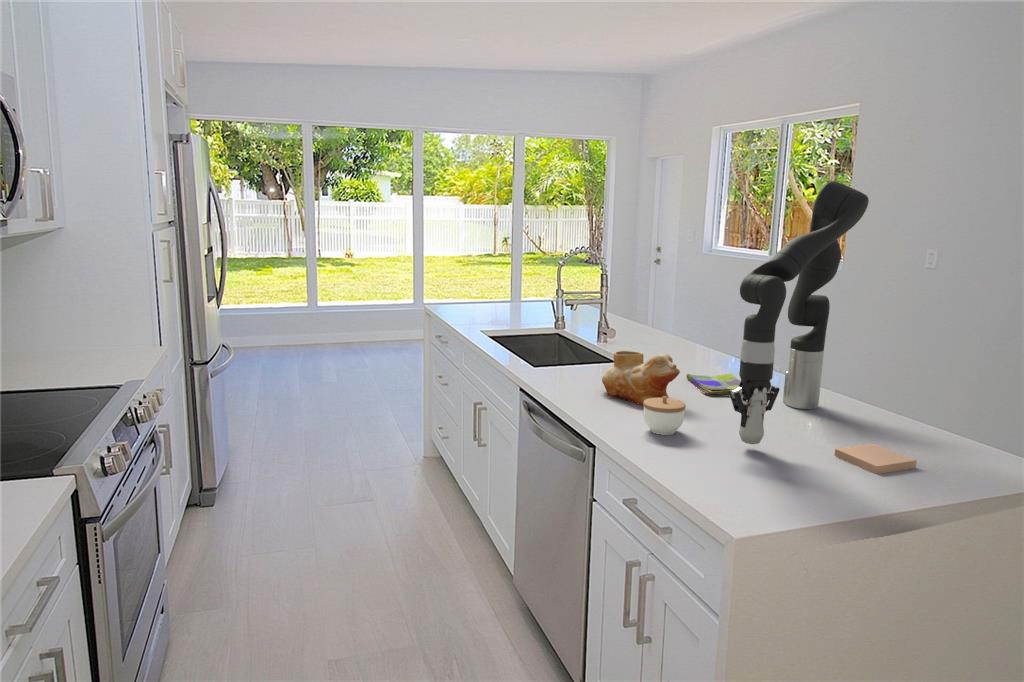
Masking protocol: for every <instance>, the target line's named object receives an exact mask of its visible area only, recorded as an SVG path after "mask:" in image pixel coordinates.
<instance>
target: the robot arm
mask: <svg viewBox="0 0 1024 682" xmlns="http://www.w3.org/2000/svg"><path fill="white" fill-rule="evenodd" d="M813 204H814V205H813V207H812V208H813V209H812V214H811V215H812V216H811V223H810V227H809V228H810V231H809V232H806V233H803V234H801V235H797V236H796V237H794V238H792V239H790V240H789V241H787V242H786V244H784V245H783V246H782V247H781V248H780V249H779V250H778V251H777V252H776V253H775V255H773V256H772V258H770V259H769V260H768V261H766V262H764V263H762V264H761V265H759V266H758V267H756V268H754V269H753V270H752V271H750V272H749V273H748V274H746V276H745V277H744V278H743V279H742V281H741V284H740V286H739V296H740V297H741V299H742V300H743V301H744V302H746V303H748V304H753V305H758V306H759V309H758V311H757V313H756V314H754V313H753V314H749V315H747V316H746V317H745V320H744V324H743V339H742V342H741V344H742V345H741V350H740V361H739V362H740V363H739V374H738V375H739V378H740V381H741V382H740V384H739V388H737V389H735V390H730V391H729V394H730V396H729V397H730V400H731V404H732V407H733V410H734V412H735V413H736V412H738V413H739V414H741V416H740V417H741V418H740V425H741V427H744V428H745V426H746V422H747V417H748V419H749V415H750V414H751V410H752V407H753V406H754V404H755V400H754V396H755V395H757V394H758V391H759V390H760V391H762V393H764V399H763V400H761V408H762V419H763V421H764V419H765V418H764V417H765V414H766V413H767V412H768V411H771V410H772V409H773V407H774V404H775V402H776V400H777V397H778V394H779V392H780V387H777V386H774V385H772V384H771V380H772V379H773V374H774V364H775V363H774V362H775V352H776V351H775V340H776V339H775V338H776V326H777V325H776V324H777V323H778V319H779V317H780V316H781V315H780V314H781V311H782V309H783V306H784V304H785V300H786V297H787V286H786V284H785V283H786V282H787V283H789V282H790V281H792V280H794V279H795V278H797V277H798V278H797V281H796V284H795V287H794V289H793V293H792V295H791V298H790V300H789V303H788V308H787V318H788V319H787V320H788V322H789V323H790V324H791V325H793V326H799V327H812V329H811V330H810V331H808V332H807V333H805V334H802V335H798V336H794V337H792V339H791V340H790V346H789V347H790V348H789V358H788V369H787V371H785V374H784V385H783V397H782V403H784V404H785V405H786V406H788V407H791V408H796V409H801V410H815V409H818V408H819V403H820V402H819V401H820V392H821V384H822V373H823V363H824V354H825V344H826V337H827V335H826V334H827V329H828V328H827V327H828V322H829V316H830V307H831V306H830V305H831V303H830V300H829V298H828V297H827V296H826V295H822V294H821V295H820V294H814V293H815V292H817V291H818V290H820V289H821V288H822V287H824V286H826V285H827V284H828V283H830V282H831V281H832V280H833V279H834V277H836V274H837V273H838V270H839V266H840V263H841V259H842V250H841V245H840V243H839V240H838V239H840V238H841V237H842V236H843V235H845V234H846V233H847V232H849V230H851V229H852V228H854V226H856V224H857V223H858V222H859V221H860V220H861V219H862V217H864V214H865V212H866V211H867V208H868V206H869V197H868V195H867V194H865V193H863V192H862V191H859V190H857V189H855V188H853V187H851V186H848V185H846V184H843V183H842V182H838V181H835V180H831V181H828V182H826V183H824V185H823V186H821V188H819V191H818V193H817V195H816V198H815V200H814V203H813ZM741 393H742V395H741ZM747 400H749V402H748V401H747ZM746 405H747V409H745V408H746ZM743 424H744V425H743Z"/></svg>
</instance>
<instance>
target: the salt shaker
mask: <svg viewBox="0 0 1024 682" xmlns="http://www.w3.org/2000/svg"><path fill="white" fill-rule="evenodd" d="M763 399H764V393H762V391H760V390H759V391H758V394H757V395H755V396H754V400H755V404H754V406H753V407H752V410H751V414H750V415H749V419H748V417H747V422H746V426H745V428H744V427H741V424H740V425H739V429H738V434H739V436H740V439H741V442H743V443H745V444H750V445H758V444H761V442H762V440H763V437H764V434H765V429H764V420H763V419H762V408H761V400H763ZM747 401H748V402H749V400H747ZM745 409H747V405H746V408H745ZM743 425H744V424H743Z"/></svg>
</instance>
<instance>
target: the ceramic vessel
mask: <svg viewBox="0 0 1024 682" xmlns="http://www.w3.org/2000/svg"><path fill="white" fill-rule="evenodd" d="M680 373H681V371H680V369H679V368H678V367H677V364H675V363H674V362H673V358H672V356H671V355H670V354H668V353H661V354H655V355H652V357H650V358H649V359H648V360H647V361H646V362H645V361H644V353H643V352H639V351H634V350H618V351H614V352H613V365H612V366H610V367H609V368H608V369H607V370H606V371H605V373H604V374H603V376H601V377H602V378H601V382H602V384H603V386H604V388H605V391H606V392H607V395H608V396H610V397H612V398H615V397H616V398H615V399H619V400H623V401H627V402H631V403H634V404H637V405H640V406H641V407H642V406H643V402H644V401H645V400H646V399H649V398H663V396H666V397H667V398H670V397H669V395H668V393H667V390H668V389H667V387H668V385H669V384H670V383H671V382H673V381H674V380H675V379H676V378H677V377H678V376H679V375H680ZM643 407H644V406H643Z"/></svg>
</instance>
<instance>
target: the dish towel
mask: <svg viewBox="0 0 1024 682" xmlns="http://www.w3.org/2000/svg"><path fill="white" fill-rule="evenodd" d="M686 379H687V380H688V382H689V381H690V382H689V383H691V385H692V384H693V385H694V386H695V387H694V386H693V385H692V386H693V387H694V388H696V387H697V388H696V389H697V390H698V389H699V390H700V391H701V392H702V393H701V392H700V391H699V390H698V391H699V392H700V393H701V394H703V395H704V394H705V395H706V396H713V395H730V394H729V391H730V390H735V389H737V388H739V384H740V382H741V380H739V379H738V378H737V377H736V376H735V375H733V374H732V373H724V374H720V375H712V376H708V375H696V374H691V373H687V374H686ZM741 395H742V393H741Z"/></svg>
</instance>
